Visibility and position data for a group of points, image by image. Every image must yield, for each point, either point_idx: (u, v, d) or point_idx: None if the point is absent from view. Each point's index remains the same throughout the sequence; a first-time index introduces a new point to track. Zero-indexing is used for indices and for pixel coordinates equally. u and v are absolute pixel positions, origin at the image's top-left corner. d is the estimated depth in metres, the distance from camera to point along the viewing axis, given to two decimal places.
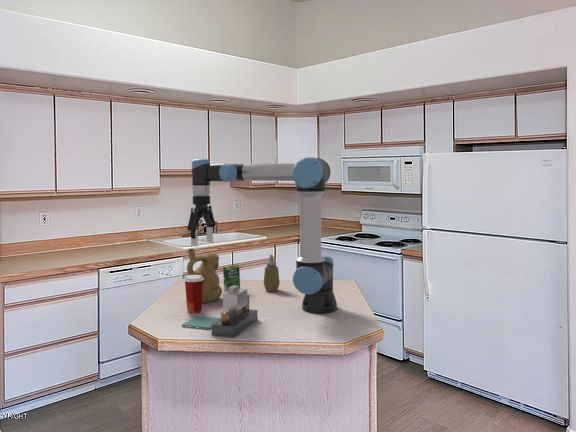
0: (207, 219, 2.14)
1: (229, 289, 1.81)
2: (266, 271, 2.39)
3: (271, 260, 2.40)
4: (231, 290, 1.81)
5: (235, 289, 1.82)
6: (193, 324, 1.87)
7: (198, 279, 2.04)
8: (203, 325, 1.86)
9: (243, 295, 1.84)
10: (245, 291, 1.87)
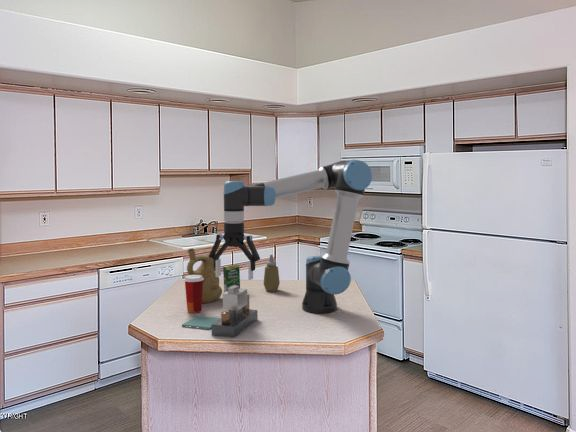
0: None
1: (229, 289, 1.81)
2: (266, 271, 2.39)
3: (271, 260, 2.40)
4: (231, 290, 1.81)
5: (235, 289, 1.82)
6: (193, 324, 1.87)
7: (198, 279, 2.04)
8: (203, 325, 1.86)
9: (243, 295, 1.84)
10: (245, 291, 1.87)
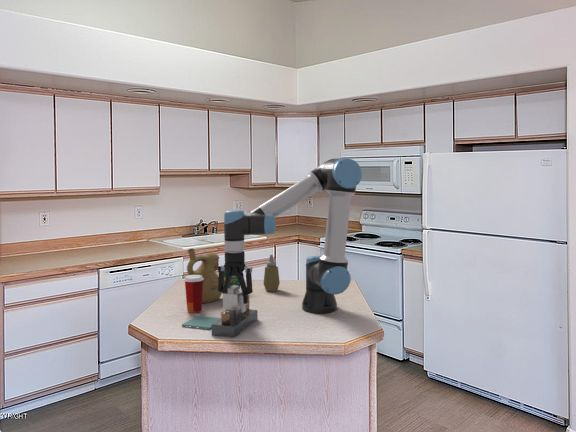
0: None
1: (229, 289, 1.81)
2: (266, 271, 2.39)
3: (271, 260, 2.40)
4: (232, 290, 1.81)
5: (235, 289, 1.82)
6: (193, 324, 1.87)
7: (198, 279, 2.04)
8: (203, 325, 1.86)
9: None
10: None
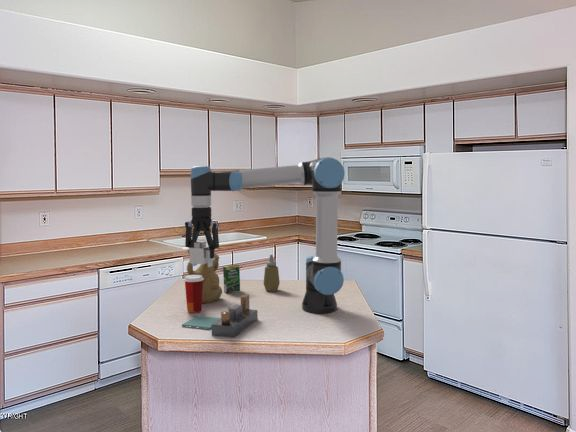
0: None
1: (195, 243, 1.84)
2: (266, 271, 2.39)
3: (271, 260, 2.40)
4: (198, 245, 1.84)
5: (201, 244, 1.85)
6: (193, 324, 1.87)
7: (198, 279, 2.04)
8: (203, 325, 1.86)
9: None
10: None
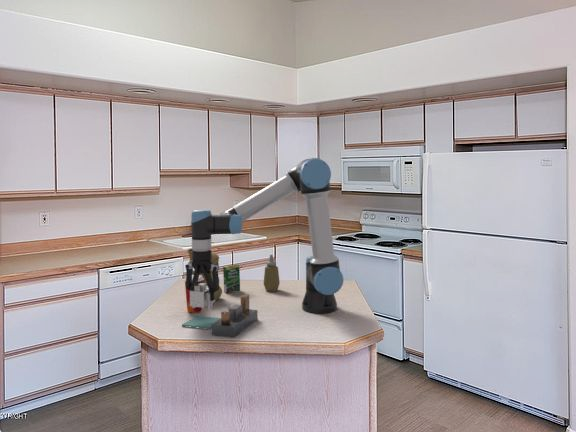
0: None
1: (196, 287, 1.86)
2: (266, 271, 2.39)
3: (271, 260, 2.40)
4: (198, 288, 1.85)
5: (202, 287, 1.87)
6: (193, 324, 1.87)
7: (198, 279, 2.04)
8: (203, 325, 1.86)
9: None
10: None
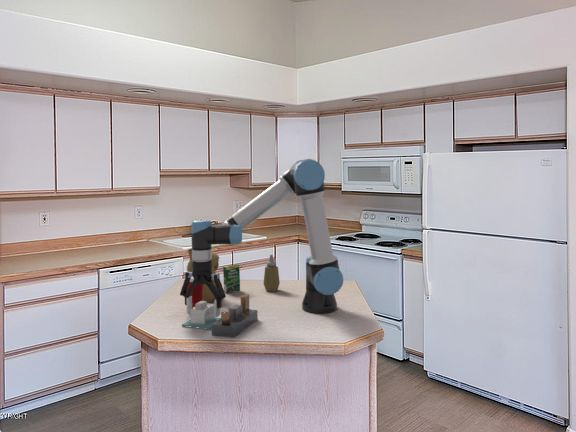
0: None
1: (196, 305, 1.86)
2: (266, 271, 2.39)
3: (271, 260, 2.40)
4: (199, 306, 1.86)
5: (202, 305, 1.87)
6: (193, 324, 1.87)
7: None
8: None
9: (210, 310, 1.90)
10: (213, 306, 1.92)
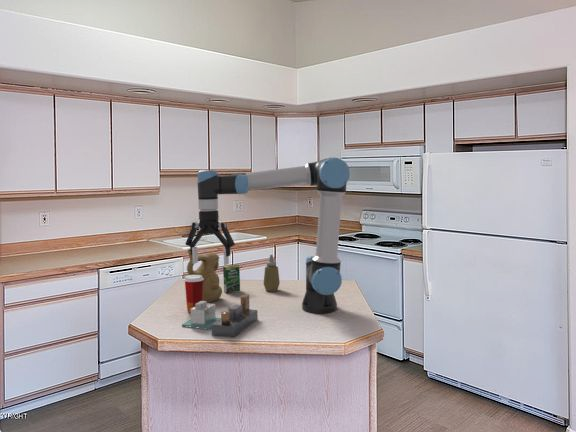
0: None
1: (196, 305, 1.86)
2: (266, 271, 2.39)
3: (271, 260, 2.40)
4: (199, 306, 1.86)
5: (202, 305, 1.87)
6: (193, 324, 1.87)
7: (198, 279, 2.04)
8: None
9: (210, 310, 1.90)
10: (213, 306, 1.92)
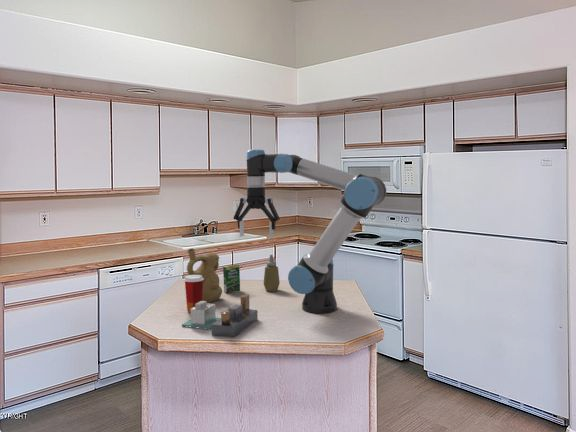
0: None
1: (196, 305, 1.86)
2: (266, 271, 2.39)
3: (271, 260, 2.40)
4: (199, 306, 1.86)
5: (202, 305, 1.87)
6: (193, 324, 1.87)
7: (198, 279, 2.04)
8: None
9: (210, 310, 1.90)
10: (213, 306, 1.92)
